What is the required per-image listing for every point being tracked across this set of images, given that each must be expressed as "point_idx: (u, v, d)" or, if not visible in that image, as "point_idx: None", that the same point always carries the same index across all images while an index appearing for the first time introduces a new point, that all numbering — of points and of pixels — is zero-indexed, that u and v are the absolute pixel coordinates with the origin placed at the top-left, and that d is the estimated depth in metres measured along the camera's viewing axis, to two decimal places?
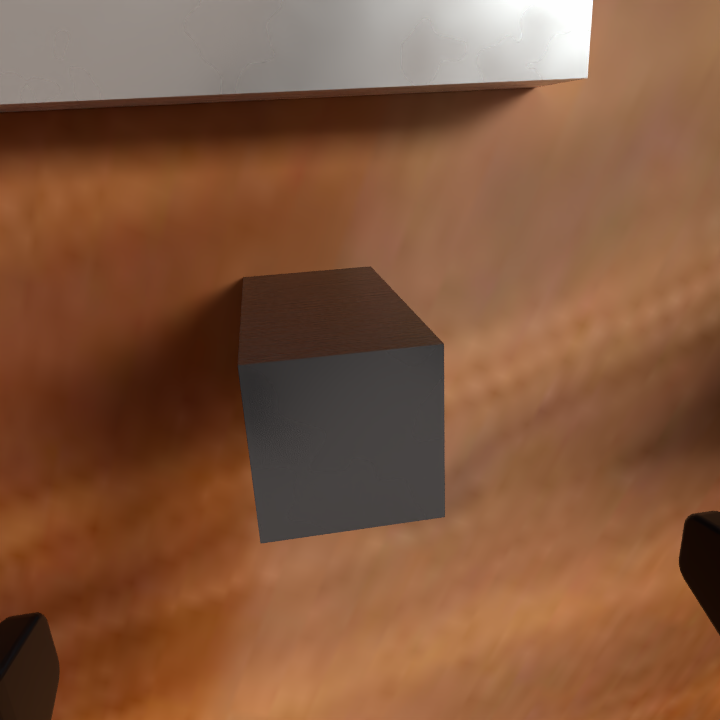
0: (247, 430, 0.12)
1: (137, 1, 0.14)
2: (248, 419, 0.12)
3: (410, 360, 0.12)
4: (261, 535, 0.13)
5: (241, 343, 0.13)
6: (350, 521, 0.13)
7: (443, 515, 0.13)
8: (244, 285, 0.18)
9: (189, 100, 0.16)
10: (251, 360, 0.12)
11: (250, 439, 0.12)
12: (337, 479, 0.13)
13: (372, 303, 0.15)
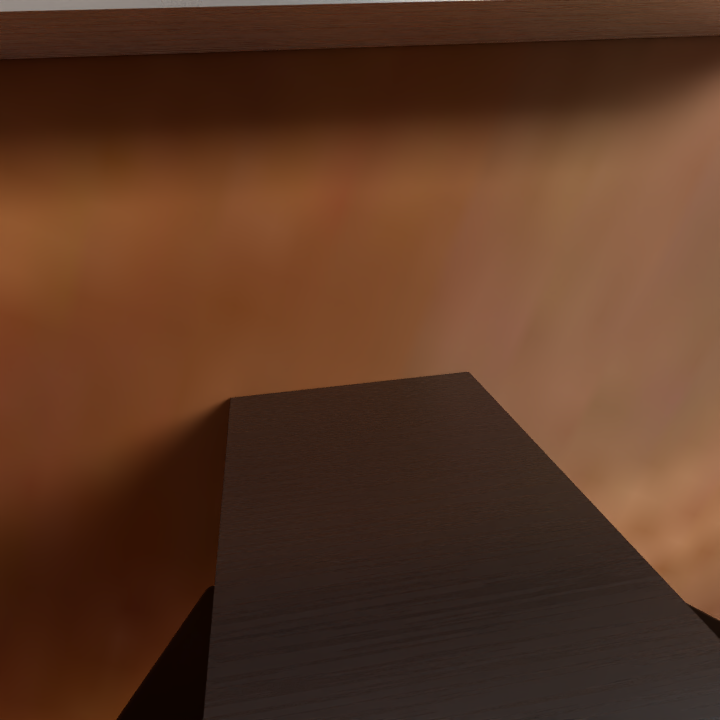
0: None
1: None
2: None
3: None
4: None
5: None
6: None
7: None
8: (231, 429, 0.09)
9: (101, 40, 0.07)
10: None
11: None
12: None
13: (541, 536, 0.06)
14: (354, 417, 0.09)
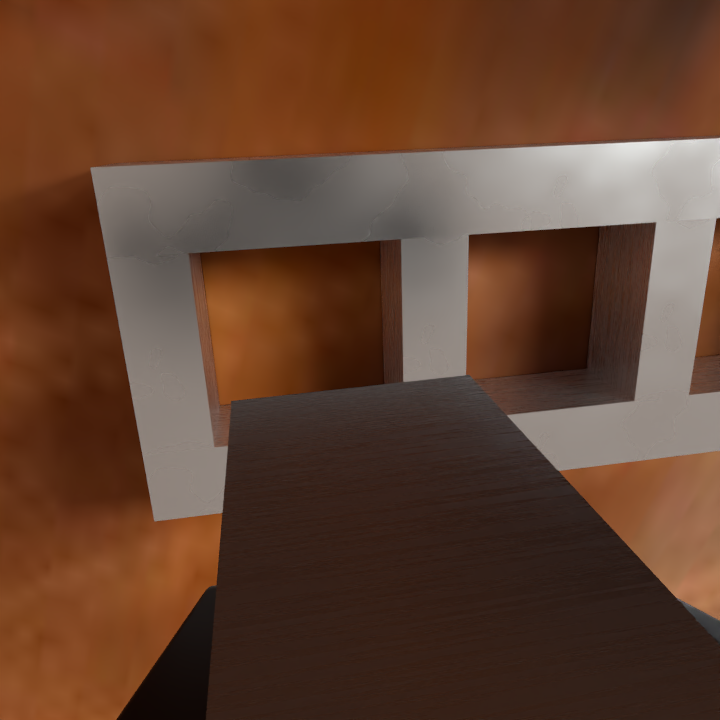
0: None
1: (596, 412, 0.19)
2: None
3: None
4: None
5: None
6: None
7: None
8: (232, 432, 0.09)
9: None
10: None
11: None
12: None
13: (541, 540, 0.06)
14: (355, 420, 0.09)
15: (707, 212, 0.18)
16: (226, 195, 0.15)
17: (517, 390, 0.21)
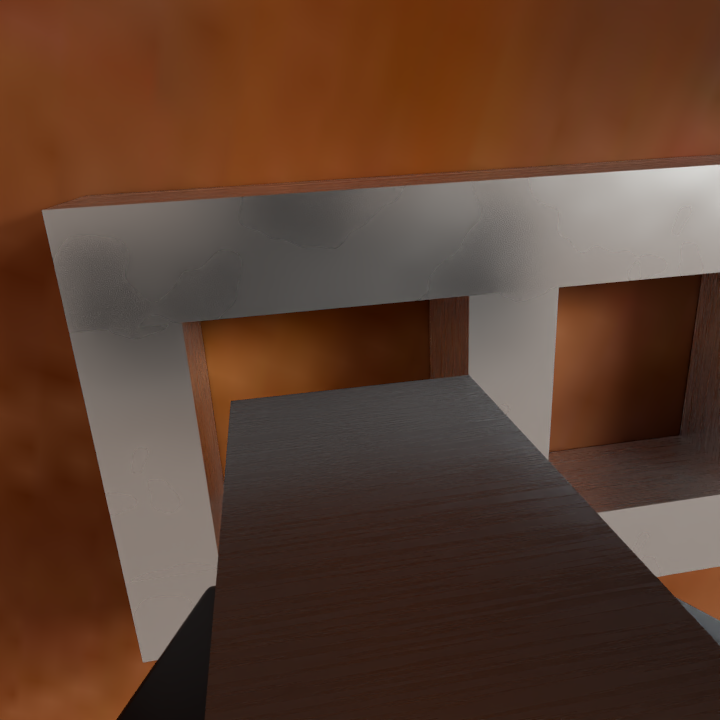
0: None
1: (710, 504, 0.15)
2: None
3: None
4: None
5: None
6: None
7: None
8: (231, 432, 0.09)
9: None
10: None
11: None
12: None
13: (541, 540, 0.06)
14: (354, 420, 0.09)
15: None
16: (232, 243, 0.11)
17: (601, 470, 0.16)
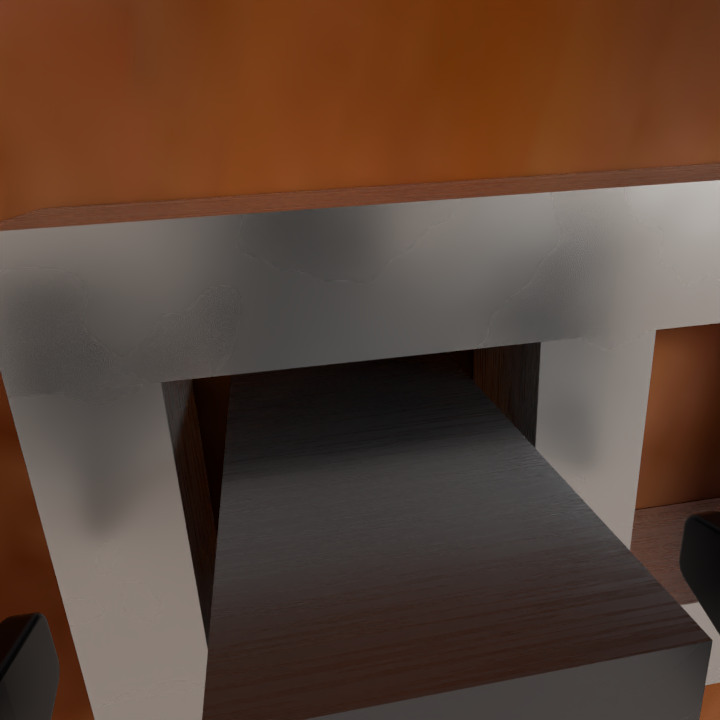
0: None
1: None
2: None
3: (631, 681, 0.05)
4: None
5: (216, 607, 0.06)
6: None
7: None
8: (233, 384, 0.11)
9: None
10: (236, 707, 0.05)
11: None
12: None
13: (472, 448, 0.08)
14: (335, 373, 0.11)
15: None
16: (230, 277, 0.08)
17: (680, 541, 0.13)
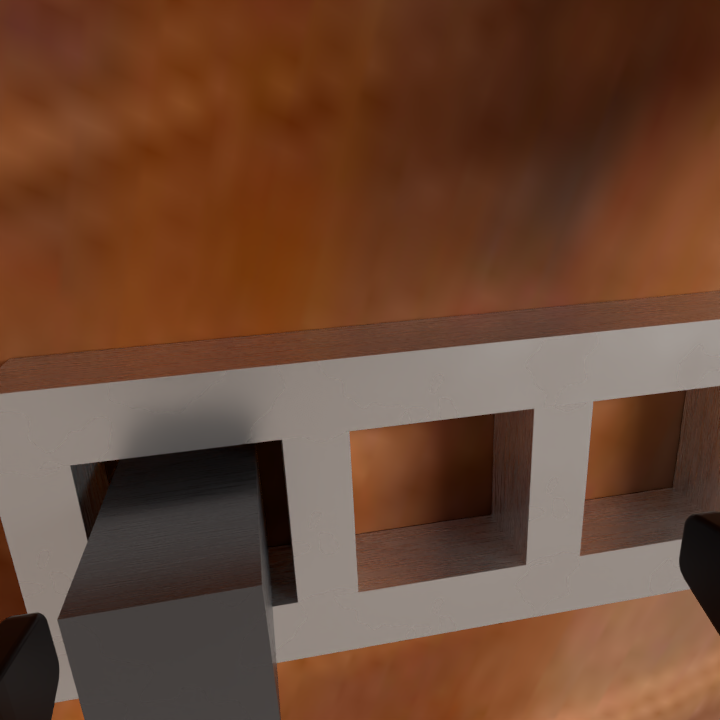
0: (73, 673, 0.13)
1: (489, 577, 0.20)
2: (72, 664, 0.12)
3: (230, 601, 0.13)
4: None
5: (76, 575, 0.13)
6: None
7: None
8: None
9: None
10: (72, 610, 0.12)
11: (77, 680, 0.13)
12: (169, 705, 0.13)
13: (226, 500, 0.16)
14: None
15: (583, 397, 0.18)
16: (104, 412, 0.16)
17: (418, 547, 0.21)
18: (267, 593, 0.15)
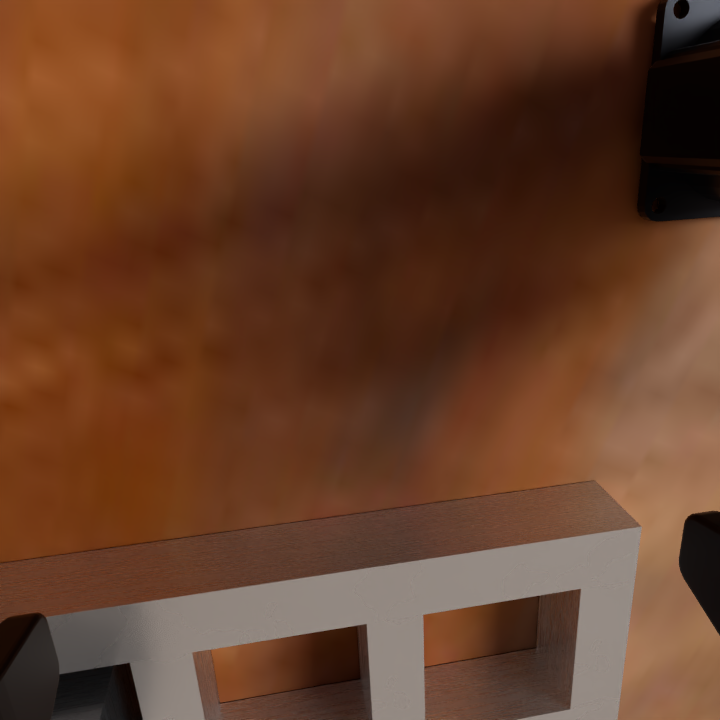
0: None
1: None
2: None
3: None
4: None
5: None
6: None
7: None
8: None
9: None
10: None
11: None
12: None
13: None
14: None
15: (412, 611, 0.20)
16: None
17: None
18: None
